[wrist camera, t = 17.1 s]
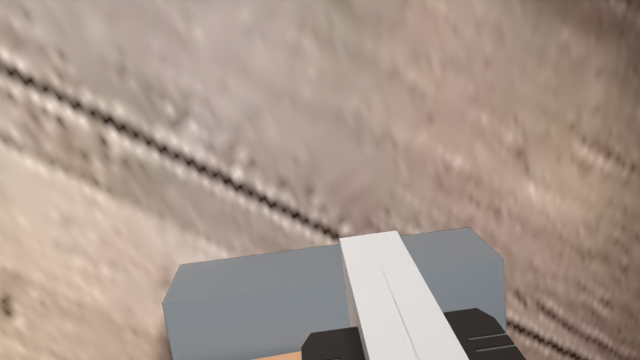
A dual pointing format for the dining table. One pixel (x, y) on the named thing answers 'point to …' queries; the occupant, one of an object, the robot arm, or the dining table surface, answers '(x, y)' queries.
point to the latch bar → (284, 357)
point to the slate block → (311, 295)
